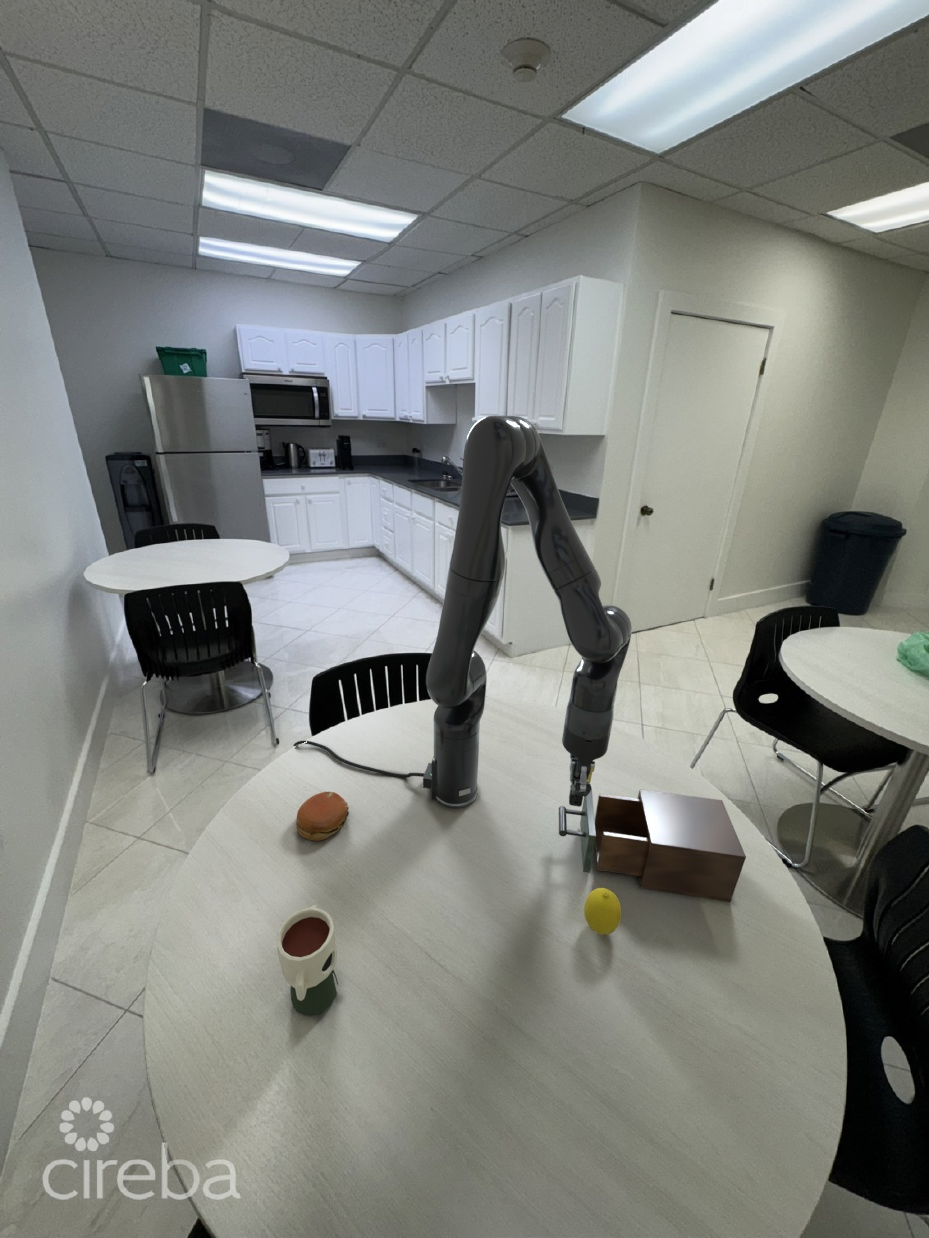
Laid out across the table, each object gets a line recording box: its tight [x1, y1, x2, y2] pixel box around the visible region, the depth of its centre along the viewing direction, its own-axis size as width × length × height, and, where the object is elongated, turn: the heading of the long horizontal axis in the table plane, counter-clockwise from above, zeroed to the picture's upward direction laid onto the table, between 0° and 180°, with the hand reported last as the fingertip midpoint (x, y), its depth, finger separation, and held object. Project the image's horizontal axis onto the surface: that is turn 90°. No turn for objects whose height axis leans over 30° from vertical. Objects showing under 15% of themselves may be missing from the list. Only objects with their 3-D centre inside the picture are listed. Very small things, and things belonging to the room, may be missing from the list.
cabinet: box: [637, 788, 747, 903], centre depth 87 cm, size 15×13×11 cm
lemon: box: [583, 887, 622, 936], centre depth 77 cm, size 6×6×8 cm
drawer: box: [558, 789, 650, 877], centre depth 89 cm, size 18×11×9 cm, turn 80°
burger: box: [296, 791, 350, 842], centre depth 96 cm, size 10×9×5 cm
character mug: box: [276, 904, 339, 1017], centre depth 66 cm, size 11×7×13 cm, turn 5°
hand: (574, 803), depth 88 cm, fingers closed
